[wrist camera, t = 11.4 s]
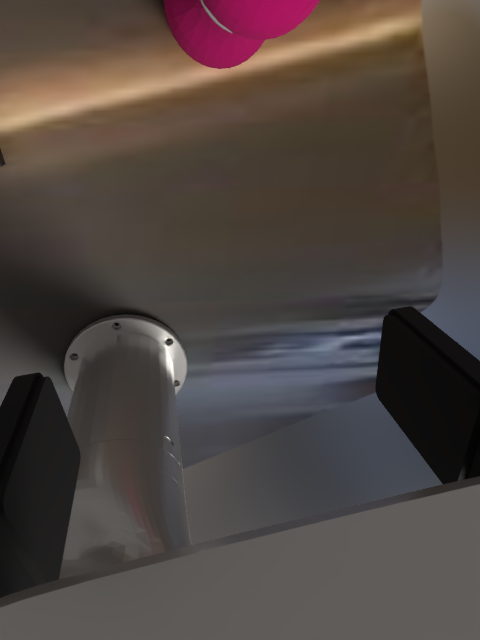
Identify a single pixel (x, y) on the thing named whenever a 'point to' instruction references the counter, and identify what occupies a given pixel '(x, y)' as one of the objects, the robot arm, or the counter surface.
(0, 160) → the duct stub
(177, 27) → the pepper mill
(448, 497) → the robot arm
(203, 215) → the counter surface
